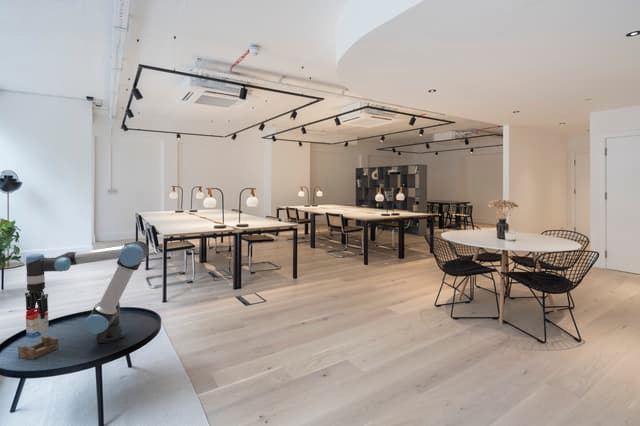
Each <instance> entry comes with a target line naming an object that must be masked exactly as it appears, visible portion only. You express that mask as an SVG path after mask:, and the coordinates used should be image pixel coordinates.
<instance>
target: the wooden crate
mask: <svg viewBox="0 0 640 426" xmlns="http://www.w3.org/2000/svg"><path fill="white" fill-rule="evenodd" d="M58 349H59V338H58V337H52V336H46V335H42V336H41V342H38V343H37V344H34V345H31V346H25V345H18V346H17V350H18V351H17V352H18V353H17V354H18V358H19V359H25V360H30V359H31V361H34V359H35V360H37V359H38V358H41V357H43V356H45V355H47V354H49V353H52V352H54V351H56V350H58Z"/></svg>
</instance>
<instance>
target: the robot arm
mask: <svg viewBox="0 0 640 426" xmlns="http://www.w3.org/2000/svg"><path fill="white" fill-rule="evenodd" d="M149 251H150V249H149V246H148V244H147V243H146V242H144V241H141V240H137V241H132V242H128V243H127V242H126V243H124V244H123V245H117V246H116V245H115V246H110V247H104V248H95V249H89V250H88V249H87V250H79V251H68V252H65V253H63V254H61V255H59V256H56V257H45V255H44V254H43V253H34V254H28V255H27V256H26V258H25V265H26V266H25V267H26V269H25V271H26V290H27V291H28V292H25V293H24V296H25V311H28V310H31V309H34V308H38V309H39V313H38V325H42V324H45V320H44V318H45V312H49V306H48V305H49V304H48V303H49V302H48V297H49V294H48V293H45V291H44V289H45V288H46V282H45V272H66V271H68V270H70V269H71V266H77V265H82V264H90V263H98V262H105V261H113V260H117V261H116V264H117V267H116V270H115V272H114V273H113V276H112V278H111V280H110V281H109V284H108V285H107V287H106V290H105V291H104V293H103V296H102V297H101V300H100V301H99V302H98V303H96V304H95V305H94V307H93V309H92V311H91V313H90V315H88V316H87V317H86V319H85V321H84V328H85V330H86V331H88V332H89V333H91V334H95V335H94V342H95V343H96V344H97V343H99V344H108V343H112V342H115V341H118V340H120V338H121V339H123V337H124V335H125V332H124V329H123V327H122V325H121V303H120V300H121V298H122V296H123V293H124V292H125V289H126V288H127V285H128V284H129V282H130V279H131V277H132V276H133V273H134V272H135V271H136V272H137V270H139V268H140V267H141V264H142V262H143V261H144V259H146V258H147V256H149ZM36 306H37V307H36ZM35 311H36V310H34V311H32V312H35Z"/></svg>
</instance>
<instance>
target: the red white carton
mask: <svg viewBox="0 0 640 426" xmlns="http://www.w3.org/2000/svg"><path fill="white" fill-rule="evenodd" d="M34 310H35V312H32V311H34ZM38 313H39V309H38V307H35V308H34V309H31V310H28V311H27V310H25V329H26V330H25V331H26V332H25V333H26V338H28V339H29V338H30V339H35V338H37V337H40V336H44V335H45V334H48V333H49V311H47V312H45V318H44V320H45V324H42V325H38Z"/></svg>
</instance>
